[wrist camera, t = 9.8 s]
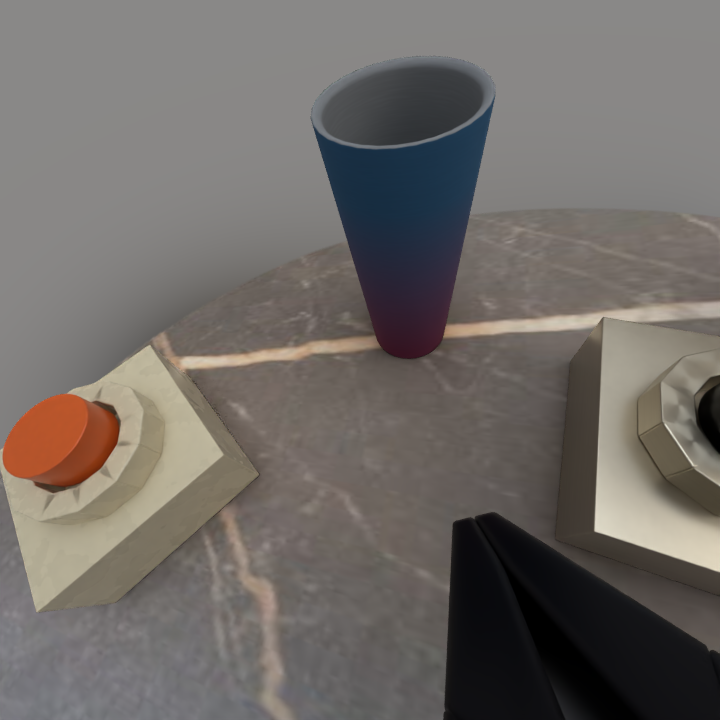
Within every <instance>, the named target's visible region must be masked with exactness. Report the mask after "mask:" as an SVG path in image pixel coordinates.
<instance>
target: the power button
mask: <svg viewBox="0 0 720 720" xmlns="http://www.w3.org/2000/svg"><path fill="white" fill-rule="evenodd" d="M118 437H119V423H118V421H117V419H116V417H115V416H114V415H113V414H112V413H111V412H109V411H107V410H105V409H103V408H101V407H99V406H97V405H95V404H93V403H91V402H89V401H87V400H85V399H83V398H81V397H79V396H77V395H73V394H60V395H56V396H53V397H50V398H48V399H46V400H44V401H42V402H40V403H38V404H37V405H35V406H34V407H33V408H32V409H30V410H29V411H28V412H27V413H26V414H25V415H24V416H23V417H22V418H21V419H20V420H19V421H18V422H17V423H16V425H15V426H14V427H13V429H12V430H11V432H10V434H9V436H8V438H7V440H6V442H5V445H4V448H3V454H2V460H3V465H4V467H5V469H6V470H7V472H9V473H10V474H11V475H13V476H14V477H18V478H22V479H26V480H31V481H36V482H40V483H45V484H49V485H54V486H59V487H67V486H72V485H76V484H79V483H81V482H83V481H85V480H87V479H88V478H89V477H90V476H92V475H93V474H94V473H96V472H97V471H98V470H100V469H101V468H102V467H103V465H104V464H105V462H106V460H107V459H108V457H109V456H110V454H111V453H112V451H113V450H114V448H115V447H116V445H117V442H118Z"/></svg>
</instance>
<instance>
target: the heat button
mask: <svg viewBox="0 0 720 720" xmlns="http://www.w3.org/2000/svg"><path fill="white" fill-rule="evenodd" d="M698 417H699V422H700V425H701V427H702V429H703V431H704V433H705V435H706V436H707V438H708V439H709V441H710V442H711V443H712V444H713V446H714V447H715V448H716V449H717V450H718V451H719V452H720V383H719V384H717V385H716V386H714V387H712V388H711V389H709V390H708V391H707V392H706V393H705V394H704V395H703V396H702V398H701V400H700V402H699V406H698Z"/></svg>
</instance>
